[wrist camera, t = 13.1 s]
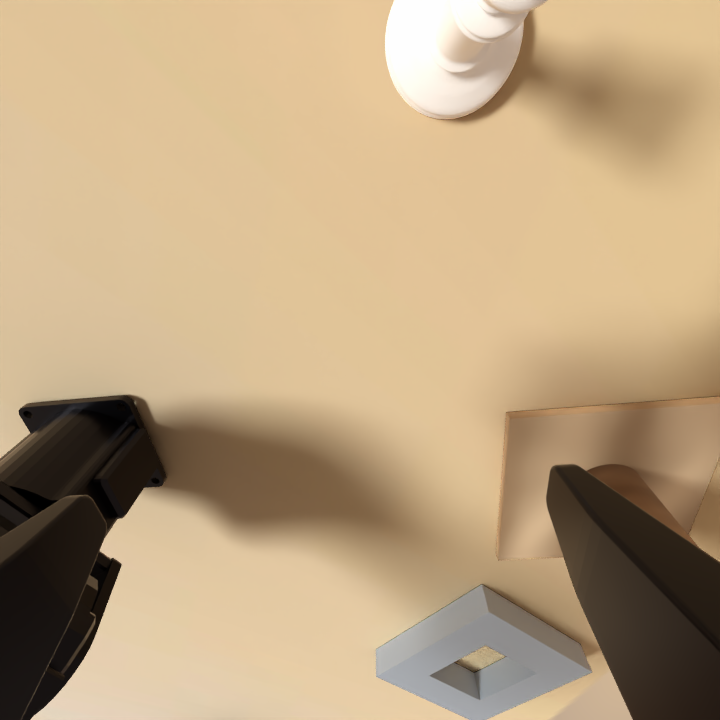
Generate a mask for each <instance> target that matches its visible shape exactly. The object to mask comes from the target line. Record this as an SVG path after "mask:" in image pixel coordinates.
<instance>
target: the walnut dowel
mask: <svg viewBox="0 0 720 720" xmlns="http://www.w3.org/2000/svg"><path fill="white" fill-rule="evenodd" d="M587 472H589V473H590V474H592V475H593V476H595V477H596V478H597V479H599V480H600V481H602V482H603V483H605V484H606V485H608V486H609V487H611V488H612V489H614V490H615V491H616V492H618V493H619V494H621V495H622V496H624V497H625V498H627V499H628V500H630V501H631V502H633V503H634V504H635V505H637V506H638V507H640V508H641V509H643V510H644V511H646V512H647V513H649V514H650V515H652V516H653V517H654V518H656V519H657V520H659V521H660V522H662V523H663V524H665V525H666V526H668V527H669V528H671V529H672V530H673V531H675V532H676V533H678V534H679V535H681V536H682V537H684V538H685V539H687V540H688V541H690V542H691V543H692V544H694V545H695V546H697V545H696V544H695V542H694V541H693V540H692V539H691V537H690V536H689V535H688V534H687V533H686V531H685V530H684V529H683V528H682V527H681V525H680V524H679V523H678V522H677V520H676V519H675V518H674V517H673V516H672V514H671V513H670V512H669V511H668V510H667V508H666V507H665V506H664V505H663V503H662V502H661V501H660V500H659V499H658V497H657V496H656V495H655V494H654V492H653V491H652V490H651V489H650V488H649V486H648V485H647V484H646V483H645V482H644V480H643V479H642V478H641V477H640V475H639V474H638V473H637V472H636V471H635V470H633V469H632V468H630V467H627V466H624V465H619V464H607V465H601V466H597V467H594V468H591V469H589V470H587ZM697 547H698V546H697ZM698 548H699V547H698Z"/></svg>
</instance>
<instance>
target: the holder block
mask: <svg viewBox="0 0 720 720" xmlns="http://www.w3.org/2000/svg"><path fill="white" fill-rule="evenodd" d="M485 645H486V646H488V647H489V648H491V649H493V650H495V651H497V652H499V653H500V654H502V655H504V656H506V657H505V658H503V659H501V660H499V661H497V662H495V663H493V664H491V665H489V666H487V667H485V668H483V669H481V670H479V671H477V672H475V673H474V672H472V671H470V670H468V669H466V668H464V667H462V666H460V665H458V664H456V663H454V662H455V661H457V660H459V659H461V658H463V657H465V656H467V655H468V654H470V653H472V652H474V651H476V650H478V649H480V648H481V647H483V646H485ZM590 673H592V670H591V668H590V666H589V663H588V661H587V658H586V656H585V654H584V651H583V649H582V647H581V644H579V643H578V642H576V641H574V640H573V639H571V638H569V637H568V636H566V635H564V634H563V633H561V632H559V631H558V630H556V629H554V628H553V627H551V626H550V625H548V624H546V623H545V622H543V621H541V620H540V619H538V618H536V617H535V616H533V615H531V614H530V613H528V612H526V611H525V610H523V609H522V608H520V607H518V606H517V605H515V604H513V603H512V602H510V601H508V600H507V599H505V598H503V597H502V596H500V595H498V594H497V593H495V592H494V591H492V590H490V589H489V588H487V587H485V586H484V585H480V586H478V587H477V588H475V589H473V590H472V591H470V592H469V593H467V594H465V595H464V596H462V597H460V598H459V599H457V600H456V601H454V602H452V603H451V604H449V605H447V606H446V607H444V608H442V609H441V610H439V611H438V612H436V613H434V614H433V615H431V616H429V617H428V618H426V619H425V620H423V621H421V622H420V623H418V624H416V625H415V626H413V627H412V628H410V629H408V630H407V631H405V632H403V633H402V634H400V635H399V636H397V637H395V638H394V639H392V640H390V641H389V642H387V643H386V644H384V645H382V646H381V647H379V648H377V649H376V677H378V678H380V679H382V680H384V681H387V682H389V683H391V684H393V685H395V686H397V687H400V688H402V689H404V690H406V691H408V692H410V693H413V694H415V695H417V696H419V697H421V698H424V699H426V700H428V701H430V702H432V703H434V704H437V705H439V706H441V707H443V708H445V709H447V710H450V711H452V712H454V713H456V714H458V715H460V716H463V717H465V718H467V719H469V720H486V719H489V718H491V717H493V716H495V715H498V714H500V713H502V712H504V711H507V710H509V709H511V708H513V707H516V706H518V705H520V704H522V703H525V702H527V701H529V700H531V699H534V698H536V697H538V696H540V695H543V694H545V693H547V692H549V691H551V690H554V689H556V688H558V687H560V686H563V685H565V684H567V683H569V682H572V681H574V680H576V679H578V678H581V677H583V676H585V675H587V674H590Z"/></svg>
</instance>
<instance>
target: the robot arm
mask: <svg viewBox="0 0 720 720" xmlns="http://www.w3.org/2000/svg"><path fill="white" fill-rule="evenodd" d="M121 404H123V405H125V407H124V406H122V405H121ZM19 415H20V417H21V418H22V420H23V421H24V423H25V425H26V426H27V428H28V430H29V431H30V434H29V435H28V436H27V437H25V438H24V439H23V440H22V441H21V442H19V443H18V444H17V445H16V446H15V447H13V448H12V449H11V450H10V451H9V452H7V453H6V454H5V455H4V456H3V457H2V458H0V720H30V719H31V718H32V717H33V716H34V715H35V714H36V713H38V712H39V711H40V710H41V709H43V708H44V707H45V706H46V705H47V704H48V703H49V702H50V701H51V700H52V699H53V698H54V697H55V696H56V695H57V694H58V692H59V691H60V690H61V689H62V688H63V687H64V686H65V684H66V683H67V682H68V680H69V679H70V678H71V677H72V675H73V674H74V673H75V671H76V670H77V668H78V667H79V665H80V664H81V662H82V661H83V659H84V657H85V655H86V654H87V652H88V650H89V648H90V646H91V644H92V642H93V640H94V637H95V635H96V632H97V630H98V627H99V624H100V622H101V619H102V616H103V613H104V611H105V608H106V605H107V603H108V600H109V597H110V595H111V592H112V589H113V587H114V584H115V581H116V579H117V576H118V573H119V571H120V568H121V565H122V564H121V563H120V562H118V561H117V560H115V559H114V558H111V559H110V558H109V557H107V556H106V555H105V554H103V553H102V552H100V551H99V550H100V548H101V545H102V543H103V540H104V538H105V537H106V535H107V534H108V532H109V531H110V529H111V528H112V526H113V525H114V523H115V522H116V520H117V519H119V518H123V517H124V516H125V515H126V514H127V512H128V511H129V509H130V508H131V506H132V505H133V503H134V502H135V500H136V499H137V497H138V496H139V494H140V493H141V491H142V490H143V488H145V487H159V486H162V485H163V483H164V482H165V480H166V474H165V472H164V470H163V467H162V465H161V463H160V461H159V458H158V456H157V454H156V452H155V449H154V447H153V445H152V443H151V440H150V438H149V436H148V434H147V432H146V429H145V427H144V425H143V423H142V420H141V418H140V416H139V414H138V411H137V409H136V407H135V405H134V402H133V401H132V400H131V399H130V398H129V397H126V396H111V397H99V398H87V399H75V400H63V401H51V402H39V403H28V404H26V405H24V406H23V407H22V408H20V410H19ZM546 504H547V509H548V512H549V515H550V518H551V521H552V524H553V527H554V530H555V533H556V536H557V539H558V542H559V545H560V548H561V551H562V554H563V557H564V560H565V563H566V566H567V569H568V572H569V575H570V578H571V581H572V584H573V586H574V589H575V592H576V594H577V597H578V599H579V601H580V604H581V606H582V608H583V611H584V613H585V615H586V617H587V620H588V622H589V624H590V626H591V628H592V631H593V633H594V635H595V637H596V639H597V642H598V644H599V646H600V648H601V650H602V653H603V655H604V657H605V659H606V661H607V664H608V666H609V668H610V670H611V673H612V675H613V677H614V679H615V681H616V683H617V686H618V688H619V690H620V692H621V695H622V697H623V699H624V701H625V703H626V706H627V708H628V710H629V712H630V714H631V717H632V719H633V720H720V562H719V561H717V560H716V559H714V558H713V557H711V556H710V555H709V554H707V553H706V552H704V551H703V550H701V549H700V548H698V547H697V546H695V545H694V544H692V543H691V542H690V541H688V540H687V539H685V538H684V537H682V536H681V535H679V534H678V533H676V532H675V531H673V530H672V529H671V528H669V527H668V526H666V525H665V524H663V523H662V522H660V521H659V520H657V519H656V518H654V517H653V516H652V515H650V514H649V513H647V512H646V511H644V510H643V509H641V508H640V507H638V506H637V505H635V504H634V503H633V502H631V501H630V500H628V499H627V498H625V497H624V496H622V495H621V494H619V493H618V492H616V491H615V490H614V489H612V488H611V487H609V486H608V485H606V484H605V483H603V482H602V481H600V480H599V479H597V478H596V477H595V476H593V475H592V474H590V473H589V472H587V471H586V470H584V469H583V468H581V467H580V466H578V465H576V464H561V465H554V466H552V468H551V469H550V474H549V480H548V487H547V494H546Z"/></svg>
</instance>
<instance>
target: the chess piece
mask: <svg viewBox="0 0 720 720" xmlns="http://www.w3.org/2000/svg"><path fill="white" fill-rule="evenodd" d="M546 1H547V0H394V3H393V5H392V8H391V11H390V14H389V18H388V22H387V28H386V36H385V52H386V60H387V66H388V70H389V73H390V76H391V79H392V81H393V83H394V85H395V87H396V89H397V91H398V92H399V94H400V95H401V97H402V98H403V99H404V100H405V101H406V102H407V103H408V104H409V105H410V106H411V107H412V108H413V109H415V110H416V111H418V112H419V113H421V114H423V115H426V116H428V117H432V118H436V119H455V118H459V117H463V116H466V115H468V114H470V113H473V112H474V111H476V110H478V109H479V108H481V107H482V106H484V105H485V104H486V103H487V102H488V101H489V100H491V99H492V98H493V96H494V95H495V94H496V93H497V92H498V91H499V89H500V88H501V87H502V86H503V84H504V83H505V81H506V80H507V78H508V77H509V75H510V73H511V71H512V69H513V67H514V65H515V63H516V60H517V57H518V54H519V51H520V47H521V43H522V38H523V28H524V19H525V18H526V16H527V15H528V13H529V11H531V10H533V9H535V8H537V7H539V6H541V5H542V4H543V3H545V2H546Z"/></svg>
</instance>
